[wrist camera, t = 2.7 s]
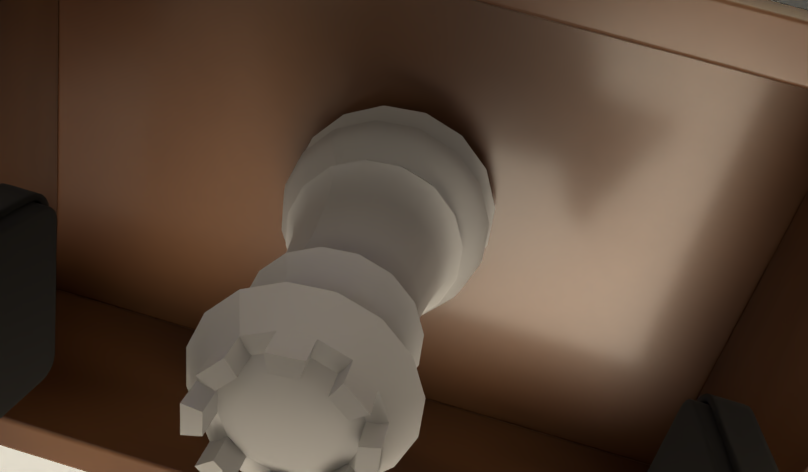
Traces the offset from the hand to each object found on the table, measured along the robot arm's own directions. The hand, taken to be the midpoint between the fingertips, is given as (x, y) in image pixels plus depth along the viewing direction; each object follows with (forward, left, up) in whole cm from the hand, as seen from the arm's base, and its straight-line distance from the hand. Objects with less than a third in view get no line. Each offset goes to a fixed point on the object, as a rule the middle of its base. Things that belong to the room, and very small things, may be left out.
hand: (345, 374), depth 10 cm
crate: (0, 0, -7) cm, 7 cm away
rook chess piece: (0, 0, -6) cm, 6 cm away
